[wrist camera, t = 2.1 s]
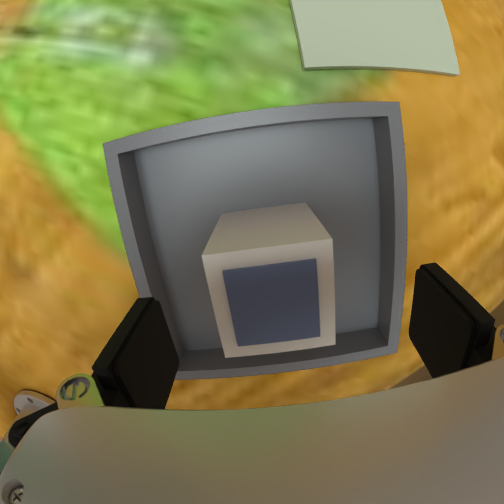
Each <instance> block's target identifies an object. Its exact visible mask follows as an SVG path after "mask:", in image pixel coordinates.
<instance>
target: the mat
mask: <svg viewBox="0 0 504 504" xmlns="http://www.w3.org/2000/svg"><path fill="white" fill-rule="evenodd" d="M289 3H290V7H291V12H292V16H293V21H294V26H295V31H296V36H297V41H298V46H299V51H300V56H301V62H302V68H303V70H322V69H384V70H402V71H414V72H425V73H434V74H442V75H449V76H457V75H460V72H459V67H458V62H457V57H456V53H455V49H454V44H453V40H452V36H451V33H450V29H449V25H448V22H447V18H446V15H445V12H444V9H443V5H442V2H441V0H289Z"/></svg>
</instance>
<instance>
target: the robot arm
mask: <svg viewBox="0 0 504 504" xmlns="http://www.w3.org/2000/svg"><path fill="white" fill-rule="evenodd" d="M494 322H495V319H494V318H493V317H492V316H491V315H490V314H489V313H488V312H487V311H486V310H485V309H484V308H483V307H482V306H481V305H480V304H479V303H478V302H477V301H476V300H475V299H474V298H473V297H472V296H471V295H470V294H469V293H468V292H467V291H466V290H465V289H464V288H463V287H462V286H461V285H460V284H459V283H457V282H456V281H455V280H454V279H453V278H452V277H451V276H450V275H449V274H448V273H447V272H446V271H444V270H443V269H442V268H441V267H440V266H439V265H438V264H437V263H429V264H423V265H421V266H420V268H419V269H417V270H416V274H415V285H414V295H413V303H412V311H411V319H410V326H409V337H410V340H411V341H412V343H413V345H414V346H415V348H416V350H417V351H418V353H419V355H420V357H421V358H422V360H423V362H424V364H425V365H426V367H427V369H428V370H429V372H430V374H431V376H432V379H429V380H425V381H421V382H418V383H414V384H410V385H406V386H402V387H397V388H393V389H388V390H384V391H379V392H374V393H369V394H364V395H359V396H353V397H348V398H342V399H335V400H329V401H322V402H314V403H306V404H298V405H288V406H278V407H266V408H250V409H228V410H169V409H165V406H166V403H167V400H168V397H169V394H170V391H171V388H172V385H173V382H174V379H175V376H176V373H177V370H178V367H179V357H178V354H177V351H176V349H175V346H174V343H173V340H172V337H171V334H170V331H169V328H168V325H167V322H166V319H165V316H164V313H163V310H162V307H161V304H160V302H159V301H158V300H155V298H154V297H145V298H138V299H137V300H136V302H135V303H134V304H133V306H132V307H131V309H130V310H129V312H128V313H127V315H126V316H125V317H124V319H123V320H122V322H121V323H120V325H119V326H118V328H117V329H116V331H115V332H114V334H113V335H112V337H111V338H110V340H109V341H108V343H107V344H106V346H105V347H104V349H103V350H102V352H101V353H100V355H99V357H98V358H97V360H96V361H95V363H94V364H93V366H92V369H93V371H94V372H93V374H92V375H91V376H90V375H88V374H76V375H72V376H70V377H68V378H66V379H65V380H64V381H63V382H61V384H60V385H59V386H58V388H57V391H56V399H57V402H55V401H54V400H52V399H50V398H48V397H46V396H44V395H42V394H40V393H37V392H33V391H29V390H23V391H20V392H19V393H18V394H17V395H16V396H15V398H14V408H15V410H16V413H17V417H16V418H15V420H14V421H13V423H12V424H11V426H10V427H9V429H8V430H7V432H6V434H5V435H4V437H3V438H2V440H1V441H0V504H504V324H503V325H501V326H499V327H498V328H497V329H496V328H495V327H494Z"/></svg>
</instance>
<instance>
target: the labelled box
mask: <svg viewBox="0 0 504 504" xmlns="http://www.w3.org/2000/svg"><path fill="white" fill-rule="evenodd" d="M202 260H203V265H204V270H205V274H206V279H207V283H208V288H209V292H210V297H211V301H212V305H213V309H214V314H215V318H216V322H217V326H218V330H219V335H220V339H221V343H222V347H223V351H224V355H225V358H229V357H241V356H252V355H261V354H271V353H279V352H287V351H295V350H303V349H310V348H317V347H323V346H329V345H335V282H334V258H333V240H332V237H331V236H330V235H329V233H328V232H327V231H326V229H325V228H324V226H323V225H322V224H321V222H320V221H319V220H318V218H317V217H316V216H315V214H314V213H313V212H312V210H311V209H310V208H309V206H308V205H307V204H306V202H304V203H296V204H288V205H280V206H272V207H265V208H257V209H250V210H243V211H236V212H229V213H222V214H221V216H220V218H219V220H218V222H217V224H216V226H215V228H214V230H213V232H212V235H211V237H210V239H209V241H208V243H207V245H206V247H205V249H204V251H203V254H202Z"/></svg>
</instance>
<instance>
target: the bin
mask: <svg viewBox="0 0 504 504" xmlns="http://www.w3.org/2000/svg"><path fill="white" fill-rule="evenodd" d="M103 148H104V154H105V160H106V165H107V171H108V176H109V181H110V186H111V191H112V195H113V200H114V204H115V209H116V213H117V217H118V221H119V225H120V229H121V233H122V237H123V241H124V245H125V249H126V252H127V256H128V259H129V263H130V266H131V270H132V273H133V277H134V280H135V283H136V287H137V290H138V293H139V296H140V298H145V297H154V298H155V300H158V301H159V302H160V304H161V307H162V310H163V313H164V316H165V319H166V322H167V325H168V328H169V331H170V334H171V337H172V340H173V343H174V346H175V349H176V351H177V354H178V357H179V367H178V370H177V373H176V376H175V379H174V380H186V379H211V378H228V377H242V376H253V375H264V374H273V373H282V372H290V371H298V370H305V369H312V368H319V367H325V366H332V365H337V364H343V363H349V362H354V361H359V360H365V359H369V358H374V357H379V356H384V355H388V354H393V353H397V350H398V343H399V336H400V328H401V320H402V311H403V301H404V289H405V276H406V257H407V181H406V163H405V149H404V138H403V128H402V119H401V111H400V104H399V102H341V103H322V104H308V105H296V106H286V107H276V108H268V109H260V110H252V111H245V112H239V113H232V114H226V115H220V116H214V117H209V118H204V119H198V120H193V121H189V122H184V123H179V124H175V125H170V126H166V127H162V128H157V129H153V130H149V131H145V132H142V133H138V134H134V135H130V136H127V137H123V138H120V139H116V140H113V141H110V142H106V143H103ZM304 202H306V204H307V205H308V206H309V208H310V209H311V210H312V212H313V213H314V214H315V216H316V217H317V218H318V220H319V221H320V222H321V224H322V225H323V226H324V228H325V229H326V231H327V232H328V233H329V235H330V236H331V237H332V240H333V258H334V282H335V345H329V346H323V347H317V348H310V349H303V350H295V351H287V352H279V353H271V354H261V355H252V356H241V357H229V358H225V355H224V351H223V347H222V343H221V339H220V335H219V330H218V326H217V322H216V318H215V314H214V309H213V305H212V301H211V297H210V292H209V288H208V283H207V279H206V274H205V270H204V265H203V260H202V254H203V251H204V249H205V247H206V245H207V243H208V241H209V239H210V237H211V235H212V232H213V230H214V228H215V226H216V224H217V222H218V220H219V218H220V216H221V214H222V213H229V212H236V211H243V210H250V209H257V208H265V207H272V206H280V205H288V204H296V203H304Z"/></svg>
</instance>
